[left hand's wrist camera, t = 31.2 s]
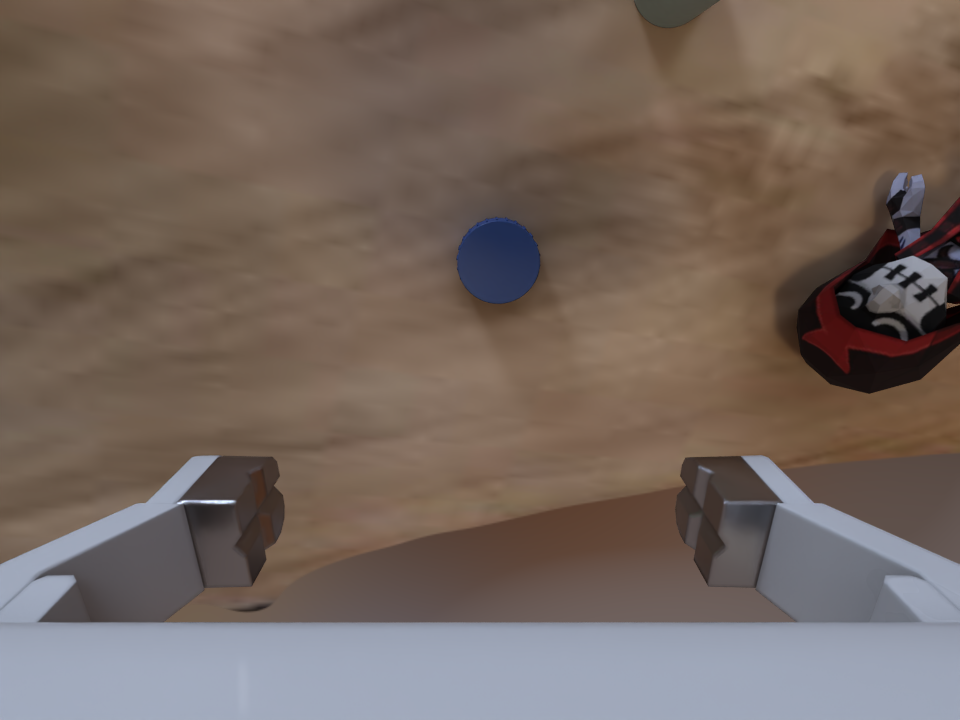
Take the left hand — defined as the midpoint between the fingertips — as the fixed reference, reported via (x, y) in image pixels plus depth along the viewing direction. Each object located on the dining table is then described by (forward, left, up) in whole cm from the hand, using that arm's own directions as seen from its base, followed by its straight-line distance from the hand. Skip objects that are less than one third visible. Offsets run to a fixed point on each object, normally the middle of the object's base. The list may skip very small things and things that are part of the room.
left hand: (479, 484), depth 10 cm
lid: (0, +1, -25) cm, 25 cm away
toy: (+13, +25, -27) cm, 39 cm away
